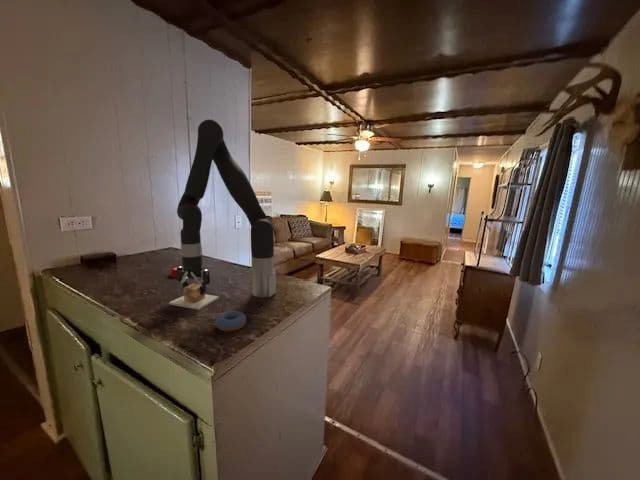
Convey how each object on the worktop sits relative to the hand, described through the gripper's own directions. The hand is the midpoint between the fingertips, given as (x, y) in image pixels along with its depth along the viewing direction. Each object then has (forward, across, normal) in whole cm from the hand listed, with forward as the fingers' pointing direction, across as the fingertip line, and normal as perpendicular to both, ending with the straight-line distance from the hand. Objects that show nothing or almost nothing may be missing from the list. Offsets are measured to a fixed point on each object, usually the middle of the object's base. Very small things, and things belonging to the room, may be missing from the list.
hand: (194, 292), depth 112 cm
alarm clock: (+4, +30, -25) cm, 39 cm away
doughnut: (+4, -26, +12) cm, 29 cm away
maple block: (+3, 0, 0) cm, 3 cm away
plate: (+4, 0, 0) cm, 4 cm away
